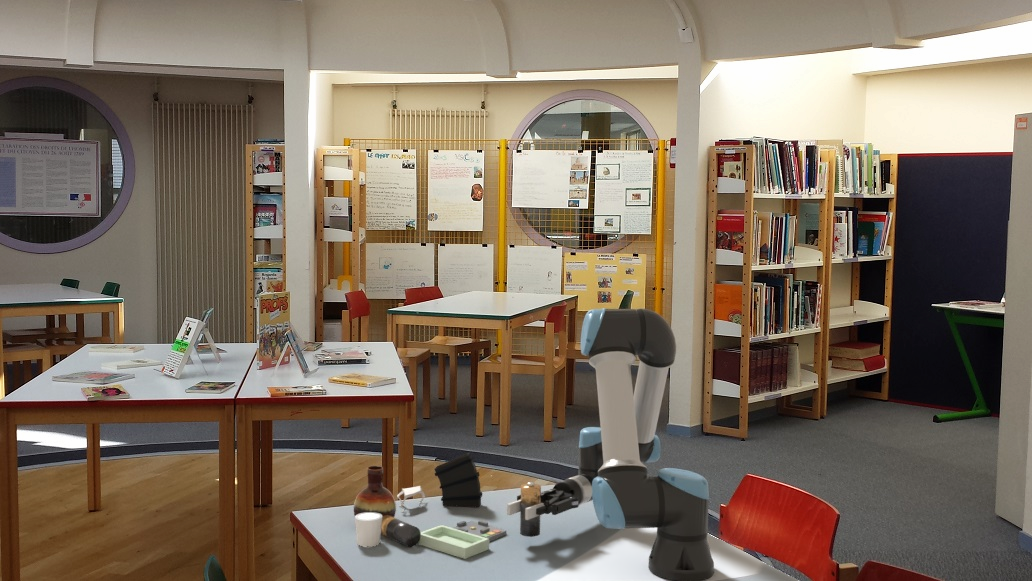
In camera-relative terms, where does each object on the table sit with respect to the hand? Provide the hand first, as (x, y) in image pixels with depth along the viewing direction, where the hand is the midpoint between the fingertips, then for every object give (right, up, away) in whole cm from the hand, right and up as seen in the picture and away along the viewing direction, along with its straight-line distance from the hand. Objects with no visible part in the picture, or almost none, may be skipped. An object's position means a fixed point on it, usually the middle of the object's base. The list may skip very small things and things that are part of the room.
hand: (517, 511), depth 228 cm
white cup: (-37, -9, +4) cm, 39 cm away
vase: (-38, -8, +18) cm, 43 cm away
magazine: (-17, -7, +37) cm, 41 cm away
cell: (+3, -6, +5) cm, 8 cm away
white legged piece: (-31, -7, +34) cm, 46 cm away
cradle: (-10, -9, +13) cm, 19 cm away
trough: (-16, -9, +3) cm, 19 cm away
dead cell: (-30, -9, +7) cm, 32 cm away
